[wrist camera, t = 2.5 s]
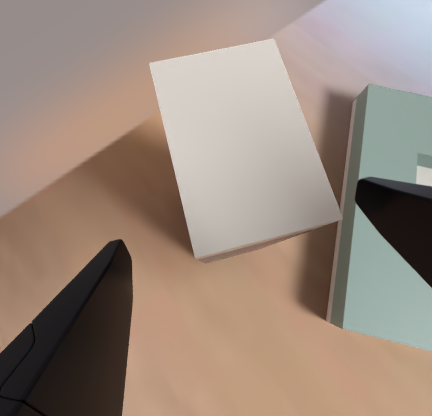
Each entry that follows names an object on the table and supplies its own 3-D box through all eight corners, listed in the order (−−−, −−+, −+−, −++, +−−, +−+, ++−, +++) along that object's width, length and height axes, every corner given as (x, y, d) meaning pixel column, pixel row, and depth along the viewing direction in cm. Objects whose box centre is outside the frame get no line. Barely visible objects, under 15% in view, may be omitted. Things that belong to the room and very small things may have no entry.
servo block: (258, 249, 18) (343, 219, 6) (205, 263, 18) (195, 258, 6) (236, 175, 19) (274, 38, 8) (187, 187, 19) (148, 62, 7)
